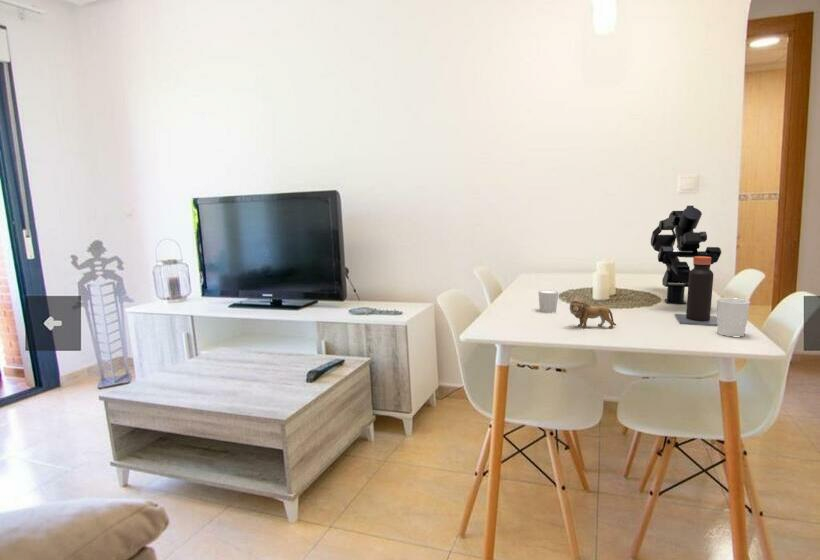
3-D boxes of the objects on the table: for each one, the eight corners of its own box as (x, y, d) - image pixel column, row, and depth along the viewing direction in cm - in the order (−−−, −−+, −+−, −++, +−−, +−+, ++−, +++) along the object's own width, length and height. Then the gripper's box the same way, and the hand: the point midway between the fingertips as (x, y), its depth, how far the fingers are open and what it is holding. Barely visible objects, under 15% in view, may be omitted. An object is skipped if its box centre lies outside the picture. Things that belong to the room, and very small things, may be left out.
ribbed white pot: (538, 312, 179) (538, 293, 178) (537, 308, 185) (538, 289, 184) (558, 313, 177) (558, 293, 176) (557, 309, 184) (558, 290, 183)
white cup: (715, 336, 146) (718, 302, 144) (714, 329, 153) (716, 297, 151) (748, 339, 142) (751, 304, 140) (745, 332, 149) (748, 299, 147)
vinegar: (680, 317, 166) (685, 256, 162) (697, 315, 167) (702, 255, 164) (697, 322, 159) (702, 258, 156) (715, 320, 161) (720, 257, 158)
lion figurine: (571, 329, 155) (572, 301, 154) (566, 325, 161) (567, 297, 159) (619, 329, 155) (621, 300, 154) (612, 324, 161) (614, 296, 159)
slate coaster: (674, 315, 171) (674, 313, 171) (715, 317, 167) (715, 315, 167) (679, 323, 160) (679, 322, 160) (723, 326, 156) (723, 324, 155)
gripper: (661, 223, 176) (667, 259, 167) (721, 223, 171) (730, 259, 162) (655, 244, 185) (660, 278, 176) (712, 244, 180) (720, 280, 171)
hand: (692, 274), depth 171 cm, fingers open, 9 cm apart
